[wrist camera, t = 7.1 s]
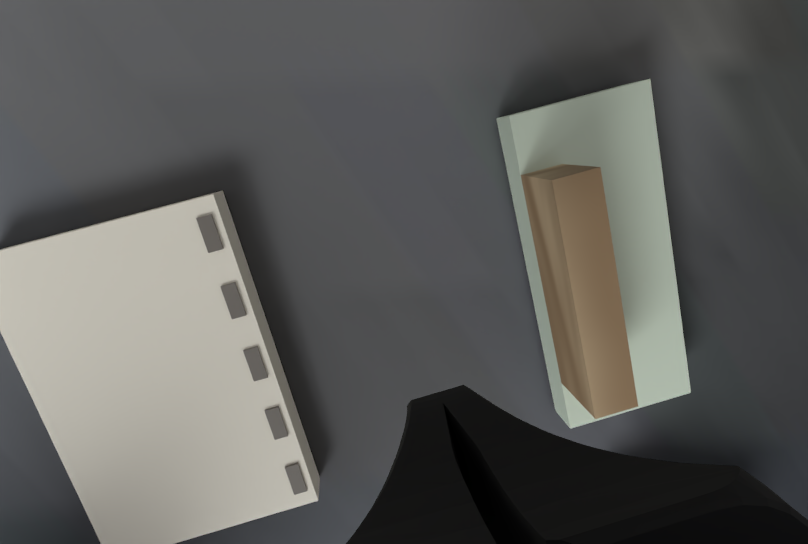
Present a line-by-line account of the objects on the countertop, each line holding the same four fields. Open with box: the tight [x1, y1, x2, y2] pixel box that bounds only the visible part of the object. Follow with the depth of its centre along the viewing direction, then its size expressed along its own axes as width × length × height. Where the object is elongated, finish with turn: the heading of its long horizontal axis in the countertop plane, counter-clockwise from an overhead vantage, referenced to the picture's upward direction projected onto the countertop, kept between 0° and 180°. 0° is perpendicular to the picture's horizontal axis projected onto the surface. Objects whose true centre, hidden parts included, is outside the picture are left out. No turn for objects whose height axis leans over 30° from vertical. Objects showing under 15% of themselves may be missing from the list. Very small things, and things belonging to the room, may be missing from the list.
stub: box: [496, 79, 691, 429], centre depth 19 cm, size 5×12×4 cm, turn 14°
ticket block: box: [0, 190, 320, 544], centre depth 20 cm, size 8×12×2 cm, turn 14°
